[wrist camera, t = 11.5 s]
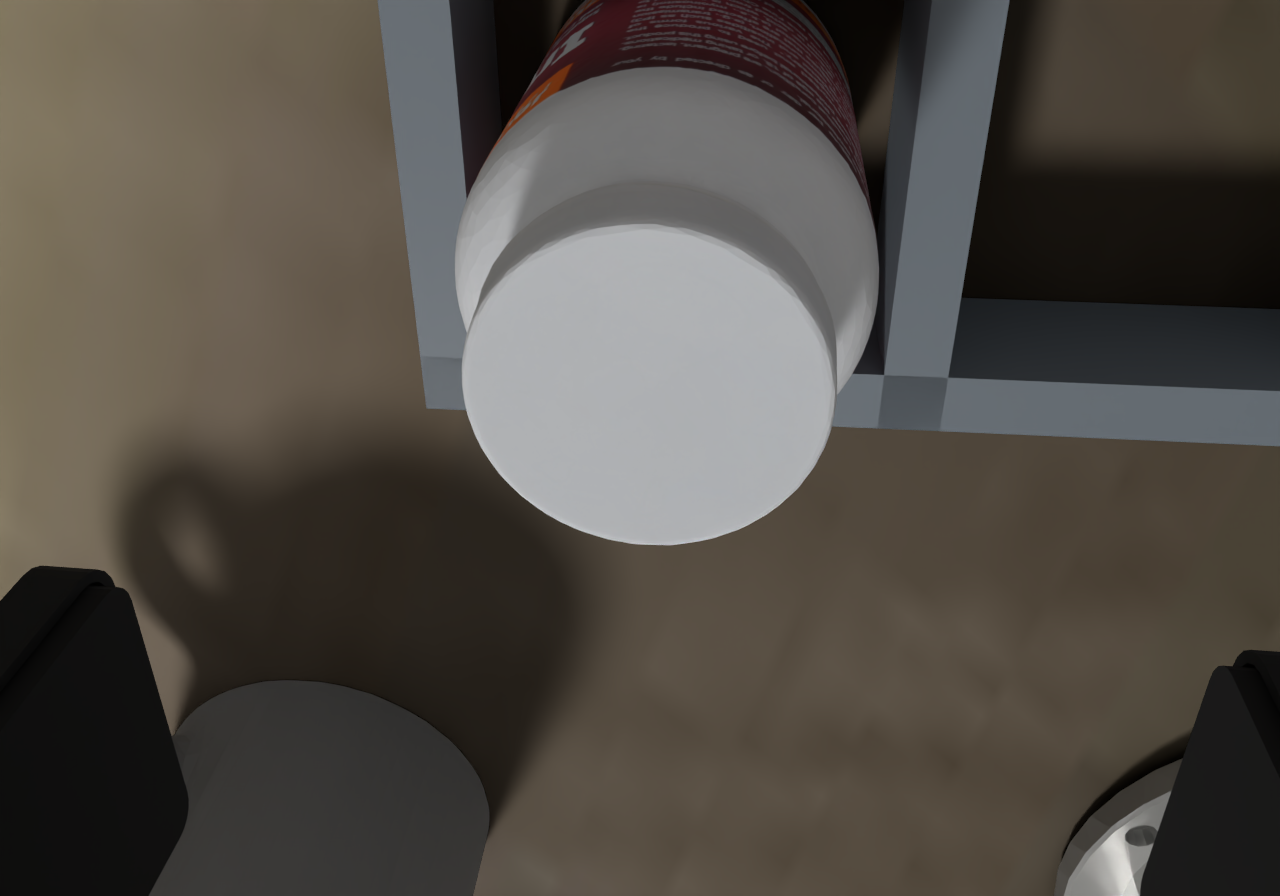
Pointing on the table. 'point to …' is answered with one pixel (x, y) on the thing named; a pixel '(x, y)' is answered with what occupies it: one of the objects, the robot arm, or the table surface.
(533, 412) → the pill bottle
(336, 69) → the table surface
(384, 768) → the coffee mug
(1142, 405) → the compartment rack
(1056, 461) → the table surface
